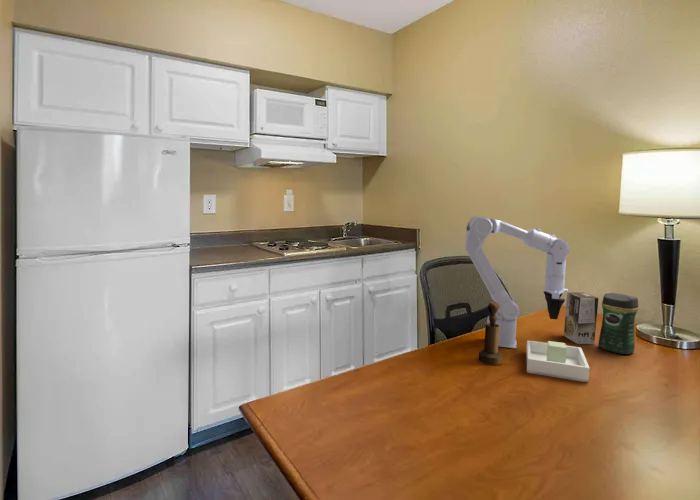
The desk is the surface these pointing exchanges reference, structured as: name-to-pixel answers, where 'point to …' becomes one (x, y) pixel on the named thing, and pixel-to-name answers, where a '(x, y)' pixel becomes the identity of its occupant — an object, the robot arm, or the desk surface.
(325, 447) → the desk surface
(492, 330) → the wooden pepper mill
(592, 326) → the coffee box
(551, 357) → the green block
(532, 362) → the white bin
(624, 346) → the coffee jar
